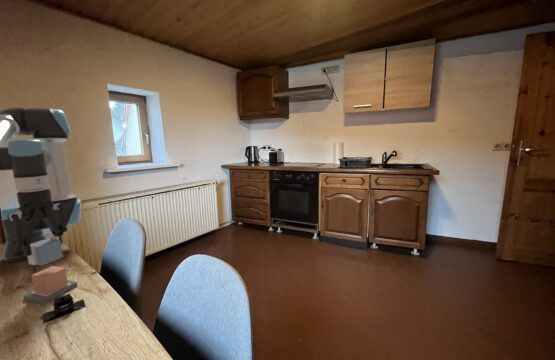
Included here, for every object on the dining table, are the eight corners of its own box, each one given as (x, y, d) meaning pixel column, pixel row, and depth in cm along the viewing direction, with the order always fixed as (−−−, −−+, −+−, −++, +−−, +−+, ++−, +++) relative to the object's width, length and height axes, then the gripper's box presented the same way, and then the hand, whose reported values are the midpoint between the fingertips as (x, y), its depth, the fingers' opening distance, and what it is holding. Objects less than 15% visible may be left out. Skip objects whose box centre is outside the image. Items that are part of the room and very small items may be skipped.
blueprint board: (58, 282, 88) (58, 278, 88) (77, 285, 86) (76, 281, 85) (24, 299, 78) (23, 295, 78) (43, 303, 76) (43, 299, 76)
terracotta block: (55, 281, 85) (52, 265, 85) (67, 284, 84) (65, 268, 83) (34, 292, 80) (31, 275, 79) (47, 294, 78) (44, 277, 77)
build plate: (36, 329, 66) (33, 314, 66) (36, 316, 72) (33, 302, 71) (92, 307, 75) (90, 293, 74) (88, 297, 80) (86, 284, 79)
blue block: (50, 255, 84) (47, 238, 83) (63, 256, 82) (60, 239, 81) (28, 263, 78) (25, 245, 77) (41, 265, 76) (38, 247, 76)
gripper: (0, 196, 66) (16, 275, 70) (74, 184, 85) (84, 248, 88) (-17, 195, 68) (-1, 272, 72) (59, 184, 87) (68, 246, 90)
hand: (45, 259), depth 80 cm, fingers closed on blue block, 6 cm apart
